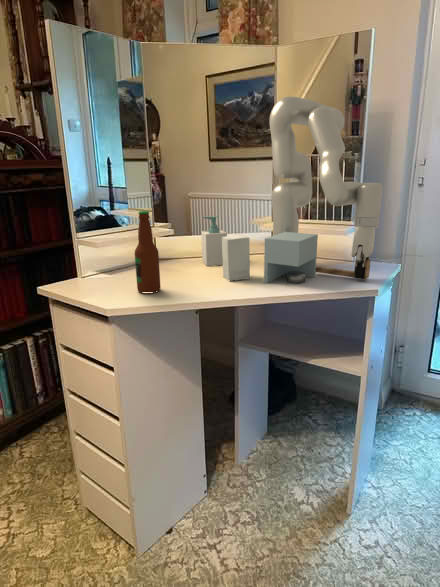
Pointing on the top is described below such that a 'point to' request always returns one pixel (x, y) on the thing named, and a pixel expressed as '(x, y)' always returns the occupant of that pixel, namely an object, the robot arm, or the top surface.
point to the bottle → (146, 257)
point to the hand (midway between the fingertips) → (361, 276)
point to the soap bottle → (212, 244)
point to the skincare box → (236, 257)
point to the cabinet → (290, 255)
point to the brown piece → (345, 272)
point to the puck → (296, 277)
